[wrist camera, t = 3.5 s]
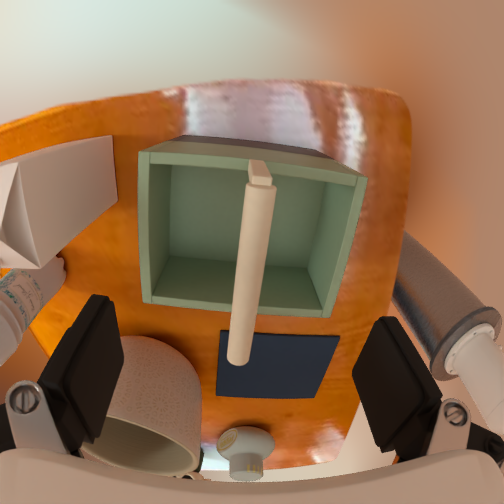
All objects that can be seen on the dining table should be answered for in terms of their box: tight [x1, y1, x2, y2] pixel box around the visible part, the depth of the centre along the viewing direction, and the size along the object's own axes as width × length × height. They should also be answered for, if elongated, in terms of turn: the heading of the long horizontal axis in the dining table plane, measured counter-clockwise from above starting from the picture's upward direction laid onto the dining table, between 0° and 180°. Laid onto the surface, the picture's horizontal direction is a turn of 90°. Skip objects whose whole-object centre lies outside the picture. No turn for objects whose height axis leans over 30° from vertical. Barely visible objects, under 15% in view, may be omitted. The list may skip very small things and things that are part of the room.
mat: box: [216, 330, 340, 399], centre depth 40 cm, size 16×14×1 cm
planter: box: [81, 335, 202, 476], centre depth 33 cm, size 17×17×15 cm
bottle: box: [0, 255, 66, 367], centre depth 23 cm, size 7×7×20 cm
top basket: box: [138, 141, 368, 366], centre depth 18 cm, size 13×10×12 cm
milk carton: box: [0, 135, 118, 269], centre depth 19 cm, size 7×7×19 cm
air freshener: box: [216, 426, 275, 481], centre depth 44 cm, size 11×8×10 cm
